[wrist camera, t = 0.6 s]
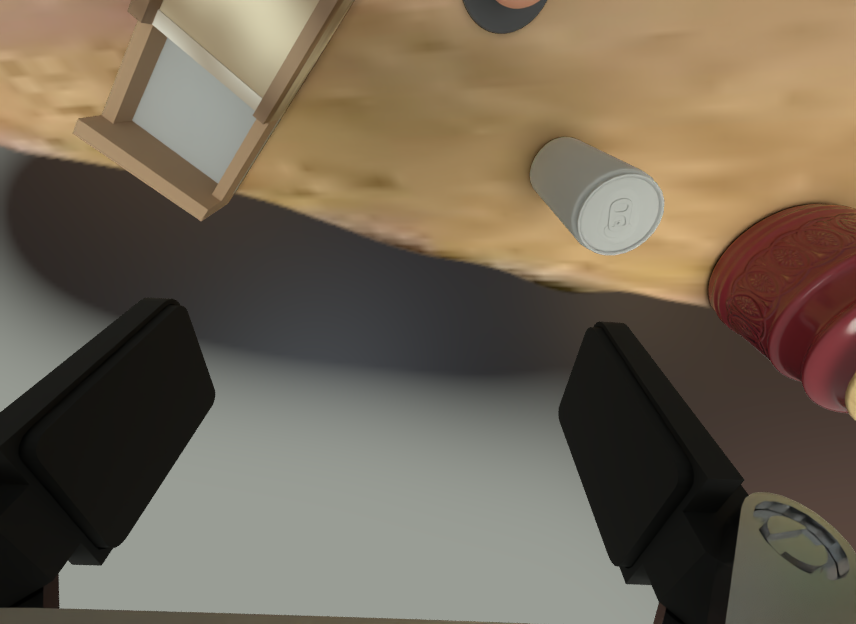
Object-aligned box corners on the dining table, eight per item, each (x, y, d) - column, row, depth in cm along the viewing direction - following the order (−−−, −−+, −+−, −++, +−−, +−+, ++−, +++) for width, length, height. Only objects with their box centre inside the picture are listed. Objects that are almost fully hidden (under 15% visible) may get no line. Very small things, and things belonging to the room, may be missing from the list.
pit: (163, 18, 25) (116, 9, 22) (280, 118, 29) (258, 126, 25) (119, 124, 29) (72, 133, 25) (228, 203, 32) (201, 221, 28)
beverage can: (527, 201, 32) (571, 262, 22) (528, 140, 29) (578, 177, 19) (585, 193, 32) (657, 252, 22) (591, 131, 29) (676, 164, 19)
